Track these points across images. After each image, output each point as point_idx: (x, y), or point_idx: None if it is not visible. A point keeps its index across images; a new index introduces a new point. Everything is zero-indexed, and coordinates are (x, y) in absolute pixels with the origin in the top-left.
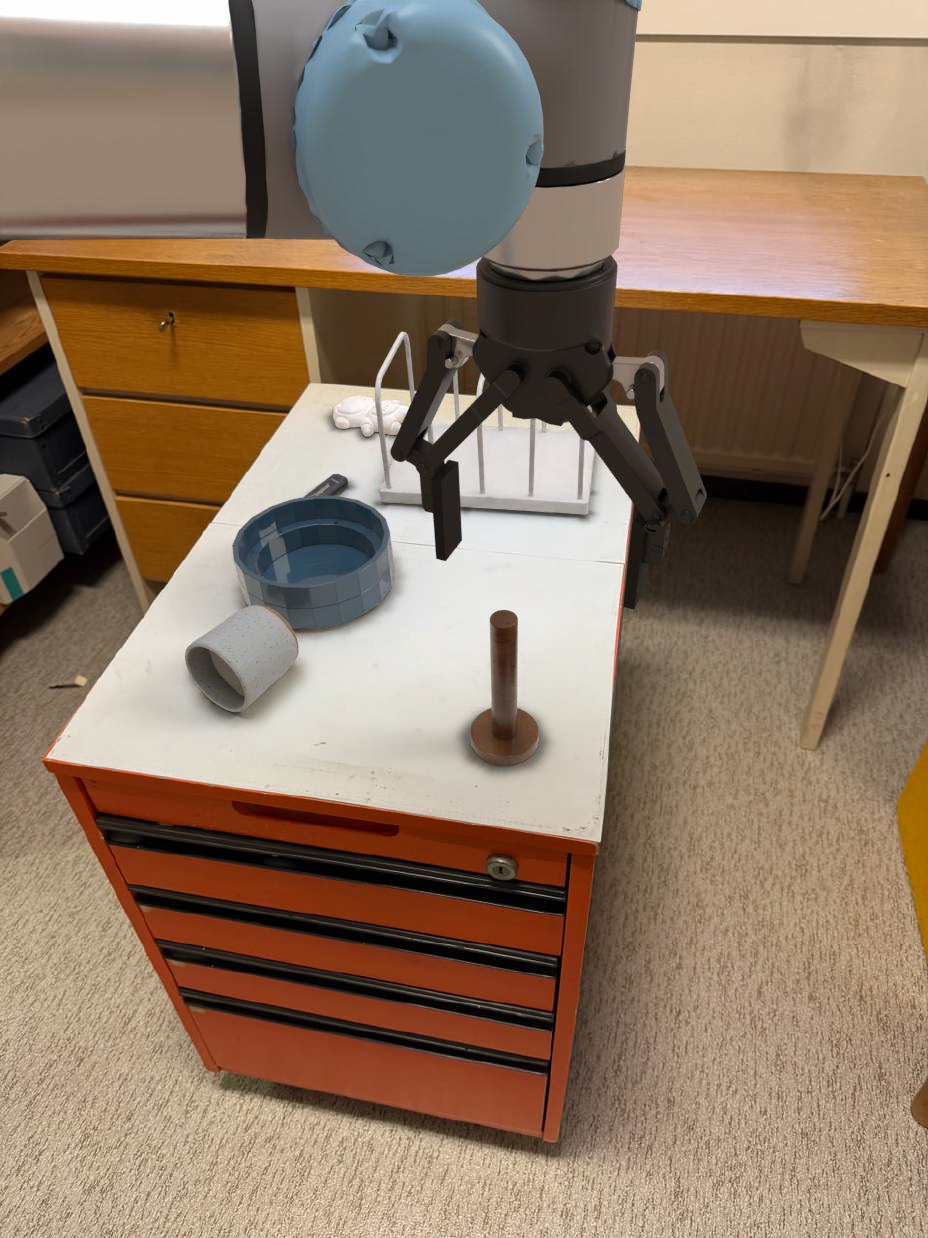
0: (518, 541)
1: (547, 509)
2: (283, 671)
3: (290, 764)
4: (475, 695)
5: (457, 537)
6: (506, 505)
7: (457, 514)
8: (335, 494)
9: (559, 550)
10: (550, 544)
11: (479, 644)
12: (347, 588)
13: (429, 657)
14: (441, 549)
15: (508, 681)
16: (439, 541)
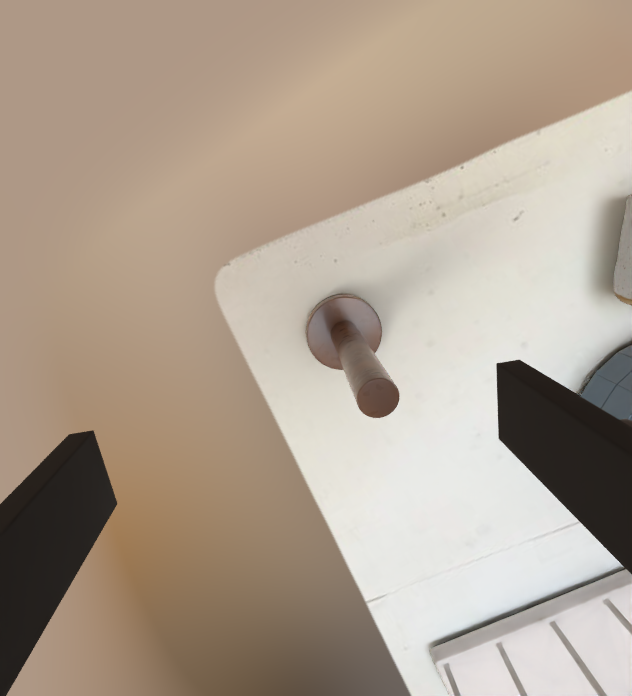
0: (477, 580)
1: (472, 635)
2: (617, 264)
3: (532, 172)
4: (402, 366)
5: (508, 430)
6: (517, 619)
7: (541, 466)
8: None
9: (430, 589)
10: (443, 592)
11: (436, 430)
12: (620, 404)
13: (476, 386)
14: (520, 372)
15: (346, 352)
16: (536, 379)
